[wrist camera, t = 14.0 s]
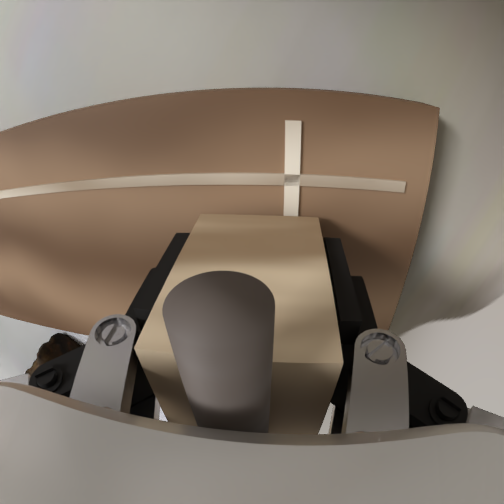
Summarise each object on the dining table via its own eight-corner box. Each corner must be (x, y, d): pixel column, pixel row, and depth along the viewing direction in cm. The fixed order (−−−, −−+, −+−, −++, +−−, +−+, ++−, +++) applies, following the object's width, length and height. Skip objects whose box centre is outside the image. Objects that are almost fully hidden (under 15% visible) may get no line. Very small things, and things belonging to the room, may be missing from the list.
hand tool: (59, 321, 19) (27, 369, 15) (101, 357, 20) (75, 407, 16) (11, 372, 26) (-7, 401, 22) (36, 394, 27) (20, 423, 24)
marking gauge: (195, 158, 10) (60, 324, 3) (322, 160, 9) (390, 350, 3) (214, 335, 14) (179, 490, 8) (303, 339, 14) (303, 501, 7)
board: (-50, 152, 12) (-67, 161, 10) (422, 102, 9) (440, 108, 8) (2, 300, 18) (-8, 313, 17) (373, 335, 16) (378, 357, 14)
